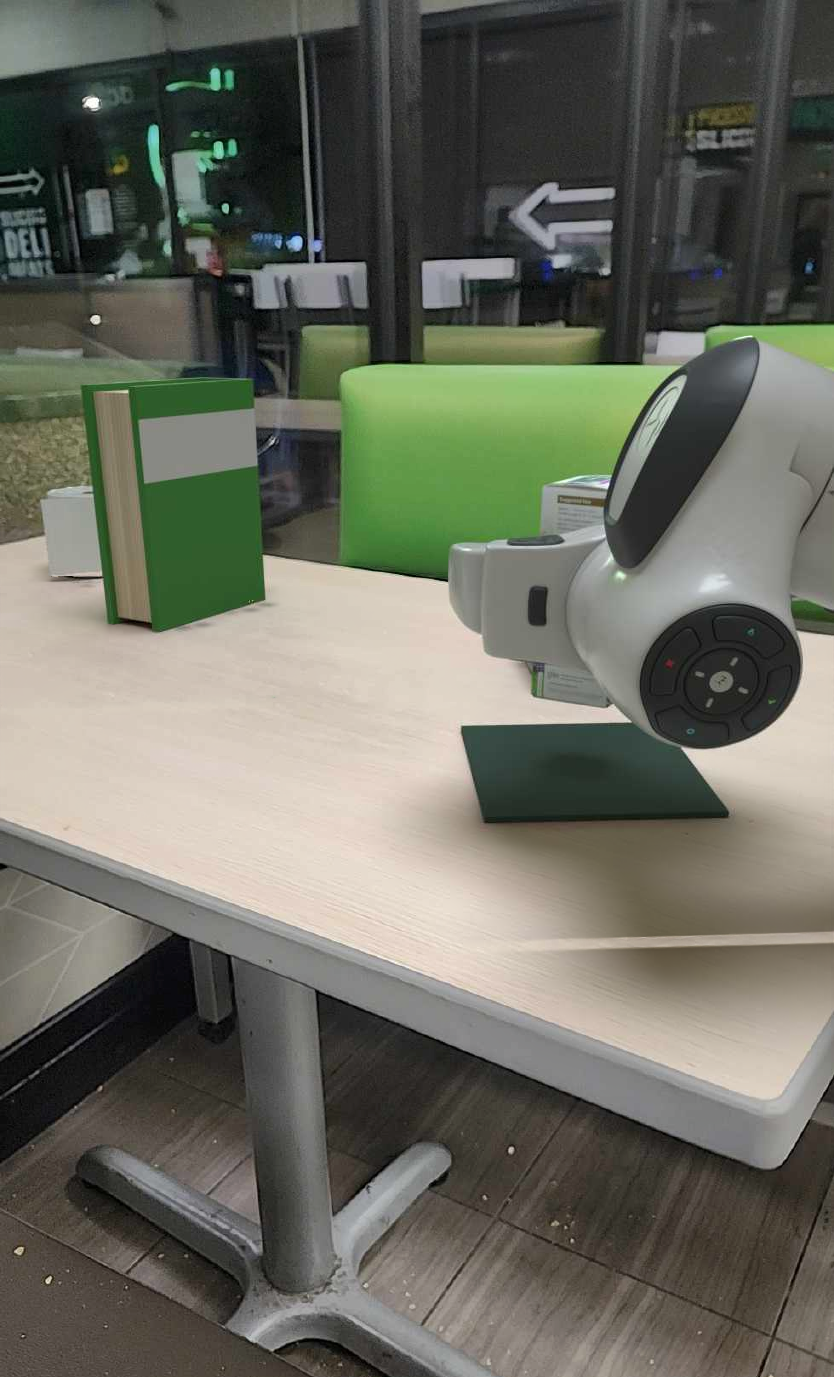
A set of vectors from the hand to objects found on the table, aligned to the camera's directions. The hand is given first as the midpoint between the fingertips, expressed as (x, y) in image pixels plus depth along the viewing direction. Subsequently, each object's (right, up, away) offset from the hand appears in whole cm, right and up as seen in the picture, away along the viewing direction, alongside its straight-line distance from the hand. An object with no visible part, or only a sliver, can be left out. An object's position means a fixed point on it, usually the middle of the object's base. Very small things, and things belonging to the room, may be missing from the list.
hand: (591, 554), depth 76 cm
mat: (0, -14, +5) cm, 15 cm away
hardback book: (-37, +5, +51) cm, 63 cm away
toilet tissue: (-53, +14, +71) cm, 90 cm away
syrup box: (0, -9, +3) cm, 10 cm away
